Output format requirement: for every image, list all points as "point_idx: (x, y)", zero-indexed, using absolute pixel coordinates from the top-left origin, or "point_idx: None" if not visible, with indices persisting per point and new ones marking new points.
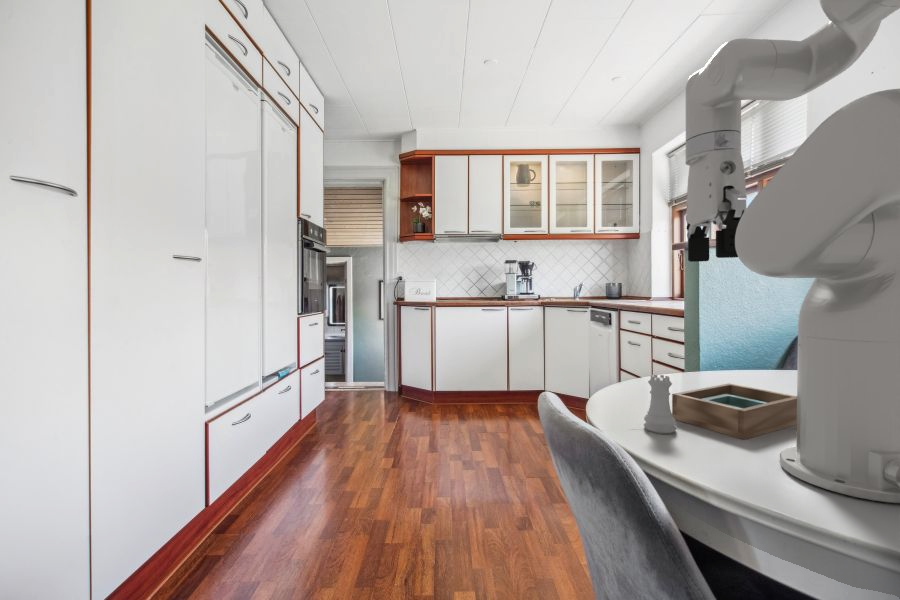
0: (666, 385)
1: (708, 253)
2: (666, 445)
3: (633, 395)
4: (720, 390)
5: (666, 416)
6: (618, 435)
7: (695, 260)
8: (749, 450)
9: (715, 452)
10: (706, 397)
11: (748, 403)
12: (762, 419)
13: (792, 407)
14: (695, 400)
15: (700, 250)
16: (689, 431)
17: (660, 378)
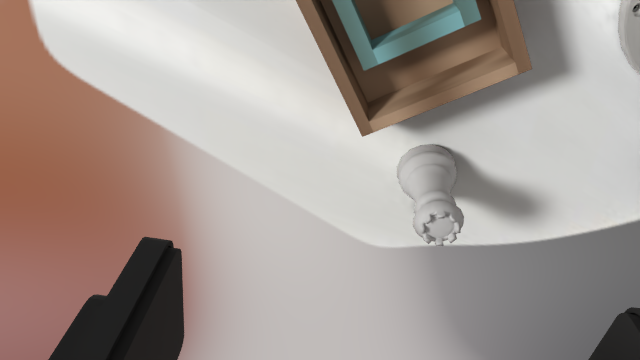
0: (463, 220)
1: (163, 288)
2: (502, 193)
3: (160, 103)
4: None
5: (452, 183)
6: None
7: (183, 318)
8: (563, 76)
9: (553, 138)
10: (325, 21)
11: None
12: None
13: None
14: (418, 113)
15: (152, 357)
16: (444, 121)
17: (440, 227)
